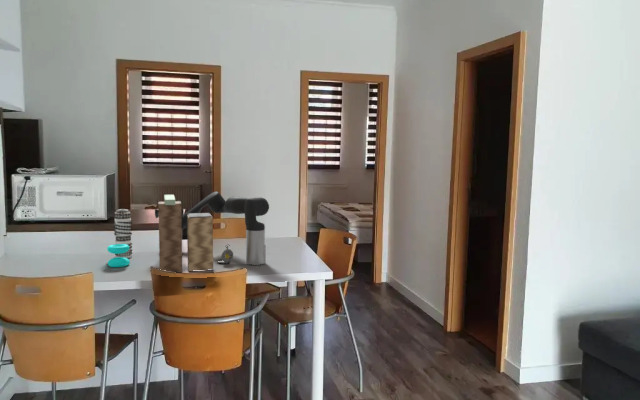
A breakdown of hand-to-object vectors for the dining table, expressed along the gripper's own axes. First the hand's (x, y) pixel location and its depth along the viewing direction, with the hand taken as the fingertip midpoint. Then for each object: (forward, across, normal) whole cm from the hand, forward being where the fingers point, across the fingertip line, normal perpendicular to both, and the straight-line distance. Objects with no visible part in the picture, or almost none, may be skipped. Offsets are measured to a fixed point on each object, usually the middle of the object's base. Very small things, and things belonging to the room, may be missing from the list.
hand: (169, 207), depth 254 cm
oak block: (+6, -14, -35) cm, 38 cm away
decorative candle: (-25, +23, -17) cm, 38 cm away
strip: (+20, 0, -6) cm, 21 cm away
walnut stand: (+5, 0, -34) cm, 35 cm away
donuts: (-8, +24, -27) cm, 37 cm away
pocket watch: (-1, -26, -31) cm, 40 cm away
